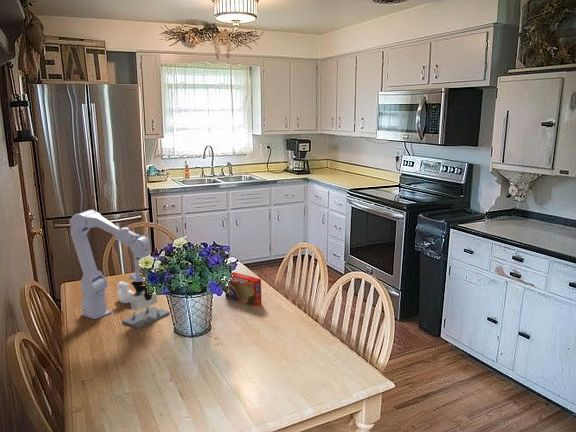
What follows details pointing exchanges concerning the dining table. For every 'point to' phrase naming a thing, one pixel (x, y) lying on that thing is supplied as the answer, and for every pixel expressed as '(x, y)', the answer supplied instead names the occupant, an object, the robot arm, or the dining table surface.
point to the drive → (141, 300)
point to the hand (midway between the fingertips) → (144, 298)
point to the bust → (124, 292)
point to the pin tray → (145, 317)
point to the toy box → (245, 289)
